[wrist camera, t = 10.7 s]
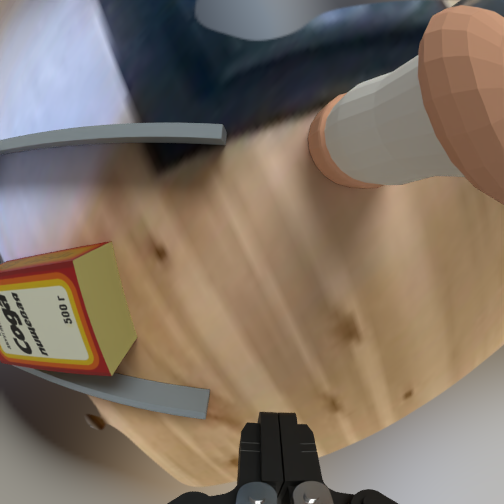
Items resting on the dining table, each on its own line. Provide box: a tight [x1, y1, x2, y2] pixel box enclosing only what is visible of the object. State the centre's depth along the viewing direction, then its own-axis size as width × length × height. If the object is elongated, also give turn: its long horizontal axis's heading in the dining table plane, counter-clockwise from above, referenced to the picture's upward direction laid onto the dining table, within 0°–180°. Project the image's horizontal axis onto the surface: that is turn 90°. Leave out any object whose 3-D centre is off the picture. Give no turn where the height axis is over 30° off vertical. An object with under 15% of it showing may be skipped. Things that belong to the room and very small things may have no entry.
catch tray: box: [0, 123, 227, 419], centre depth 22 cm, size 25×27×4 cm
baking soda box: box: [0, 241, 137, 376], centre depth 21 cm, size 10×6×16 cm
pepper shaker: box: [308, 5, 504, 204], centre depth 12 cm, size 7×7×19 cm
